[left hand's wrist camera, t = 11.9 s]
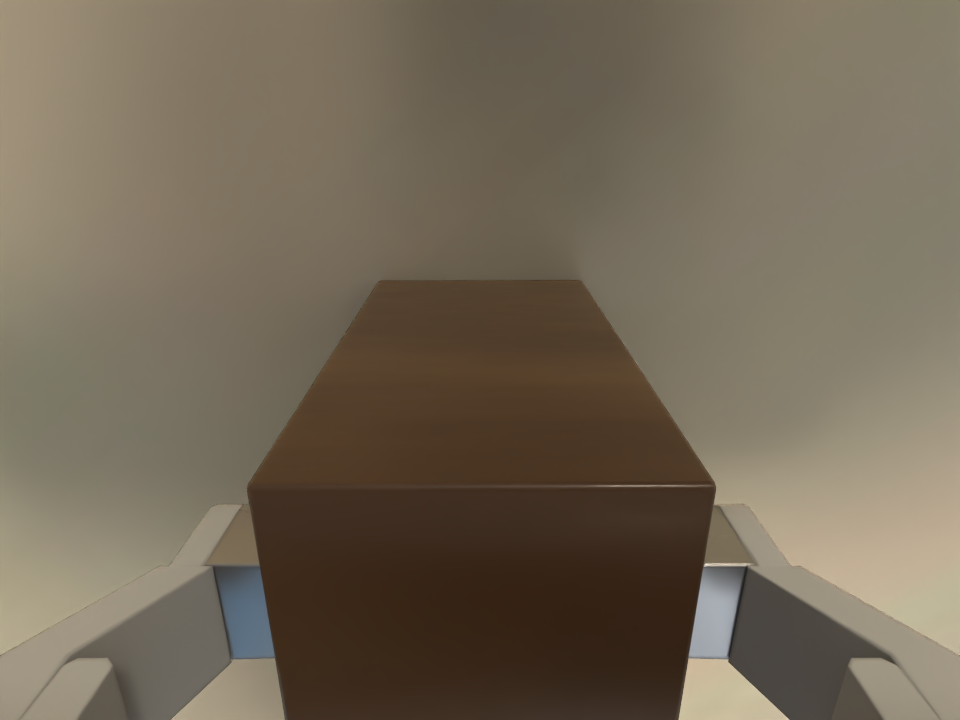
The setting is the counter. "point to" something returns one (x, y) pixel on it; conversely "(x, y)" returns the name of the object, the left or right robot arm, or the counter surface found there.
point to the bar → (481, 517)
